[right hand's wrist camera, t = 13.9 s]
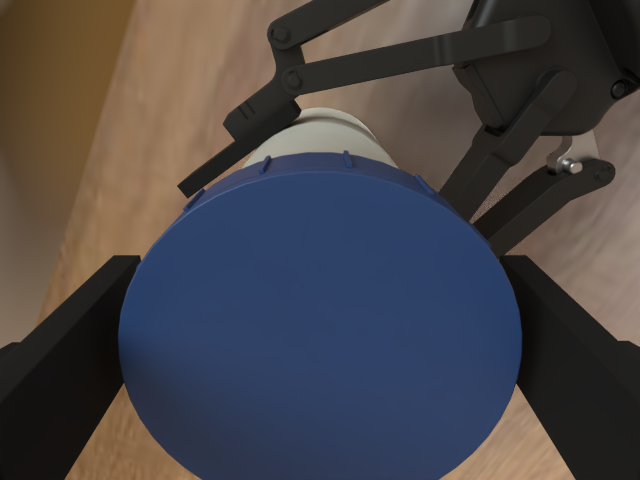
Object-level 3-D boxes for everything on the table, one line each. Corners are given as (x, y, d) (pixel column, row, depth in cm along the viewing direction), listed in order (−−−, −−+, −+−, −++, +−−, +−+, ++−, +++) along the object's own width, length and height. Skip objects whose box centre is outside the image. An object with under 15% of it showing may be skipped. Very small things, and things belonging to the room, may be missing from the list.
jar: (287, 252, 30) (244, 509, 13) (233, 139, 28) (83, 269, 10) (402, 207, 29) (525, 421, 12) (356, 85, 27) (427, 125, 9)
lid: (480, 441, 14) (506, 503, 12) (182, 457, 14) (160, 520, 12) (503, 138, 11) (544, 155, 9) (115, 164, 11) (69, 186, 9)
